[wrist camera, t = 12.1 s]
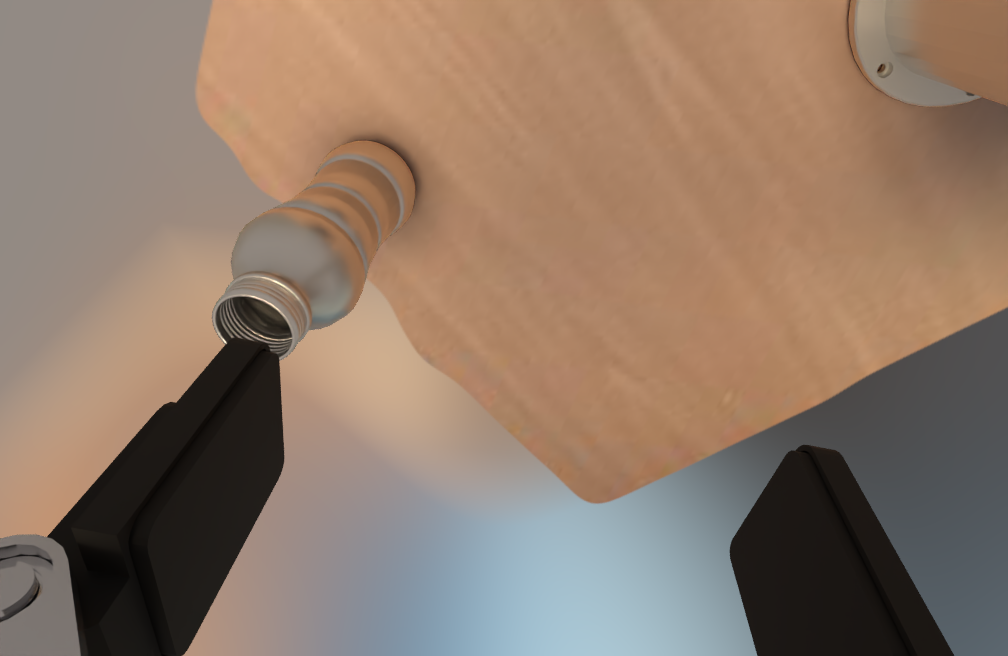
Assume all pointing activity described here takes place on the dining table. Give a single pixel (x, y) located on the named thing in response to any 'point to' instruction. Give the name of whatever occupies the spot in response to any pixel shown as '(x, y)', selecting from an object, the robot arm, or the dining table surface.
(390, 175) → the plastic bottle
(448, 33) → the dining table surface
